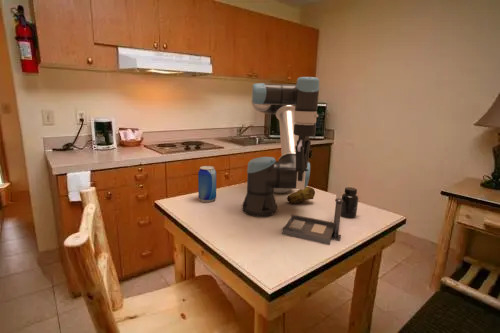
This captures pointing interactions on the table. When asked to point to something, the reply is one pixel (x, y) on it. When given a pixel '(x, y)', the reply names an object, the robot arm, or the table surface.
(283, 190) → the cereal bowl
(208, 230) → the table surface
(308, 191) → the potato
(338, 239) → the post
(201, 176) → the beer can
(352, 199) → the supplement bottle
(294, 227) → the metal plate with cutouts
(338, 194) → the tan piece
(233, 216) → the table surface
